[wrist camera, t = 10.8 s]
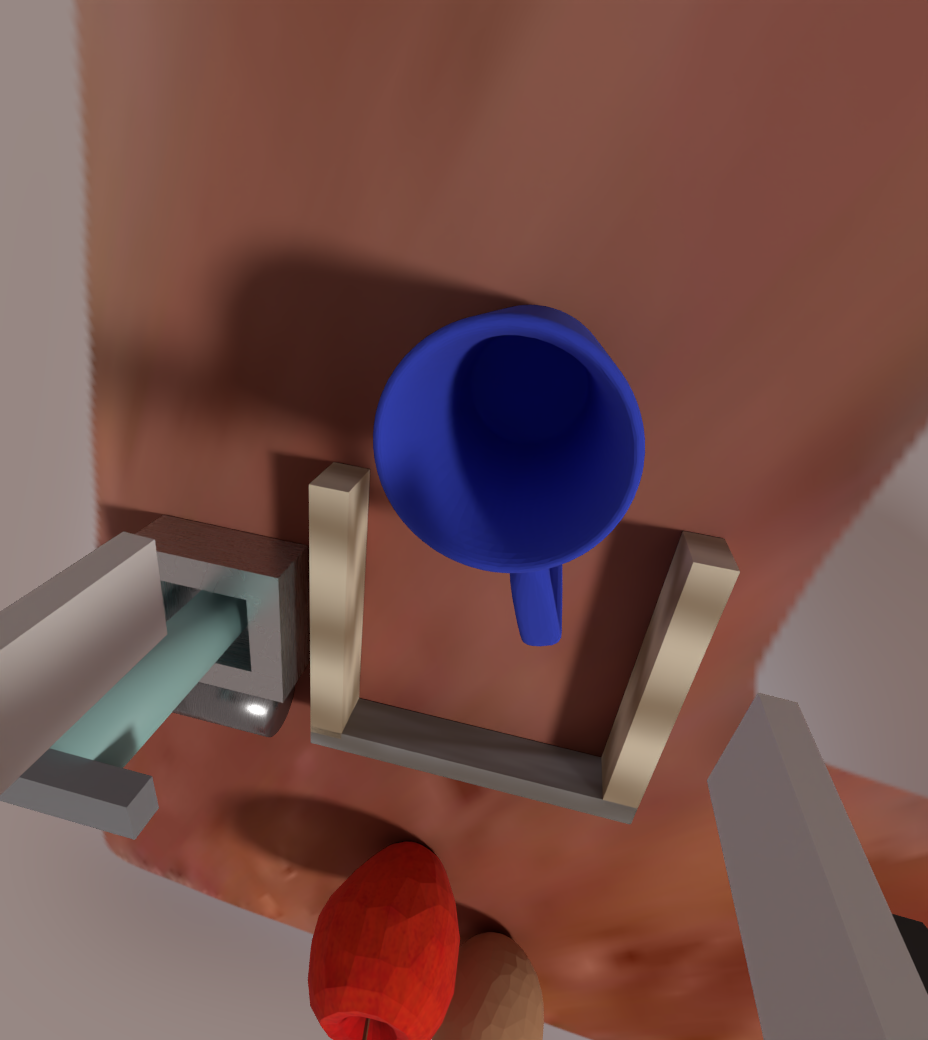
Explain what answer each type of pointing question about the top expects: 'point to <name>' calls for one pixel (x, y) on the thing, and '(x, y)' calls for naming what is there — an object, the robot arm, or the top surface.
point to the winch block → (270, 610)
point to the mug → (511, 450)
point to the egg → (493, 993)
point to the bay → (480, 752)
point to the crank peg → (129, 725)
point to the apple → (386, 949)
